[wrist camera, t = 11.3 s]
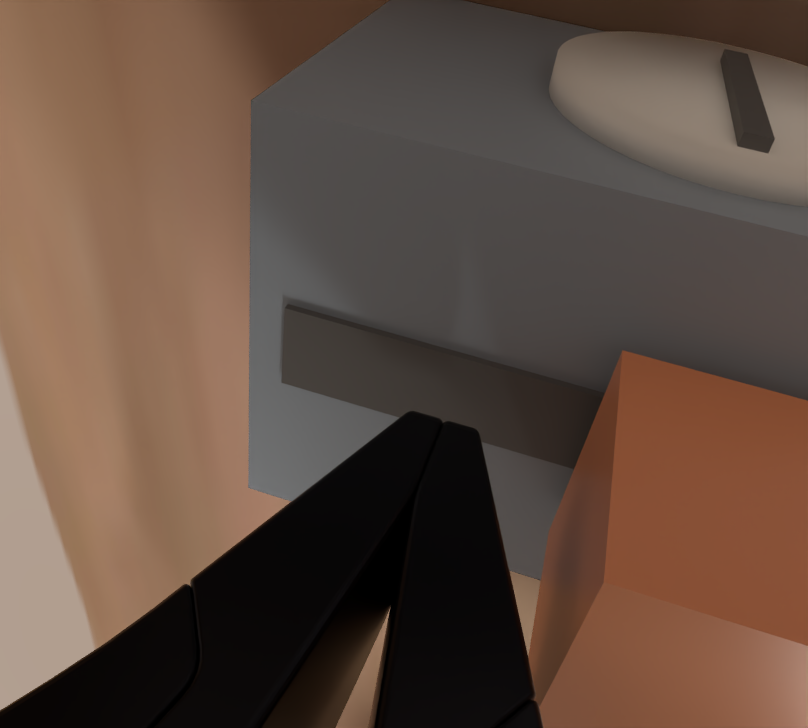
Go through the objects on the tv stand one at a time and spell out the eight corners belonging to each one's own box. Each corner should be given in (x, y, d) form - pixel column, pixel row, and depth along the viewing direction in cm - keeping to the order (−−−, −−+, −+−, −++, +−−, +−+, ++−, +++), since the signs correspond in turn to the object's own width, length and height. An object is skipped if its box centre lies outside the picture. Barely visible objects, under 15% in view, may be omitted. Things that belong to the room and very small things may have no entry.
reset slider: (786, 604, 9) (825, 871, 7) (548, 531, 10) (511, 761, 7) (923, 431, 7) (1040, 719, 5) (623, 350, 8) (603, 581, 5)
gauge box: (848, 421, 15) (931, 710, 10) (368, 290, 16) (245, 492, 11) (1080, 92, 11) (1402, 320, 6) (411, -50, 12) (247, 47, 7)
